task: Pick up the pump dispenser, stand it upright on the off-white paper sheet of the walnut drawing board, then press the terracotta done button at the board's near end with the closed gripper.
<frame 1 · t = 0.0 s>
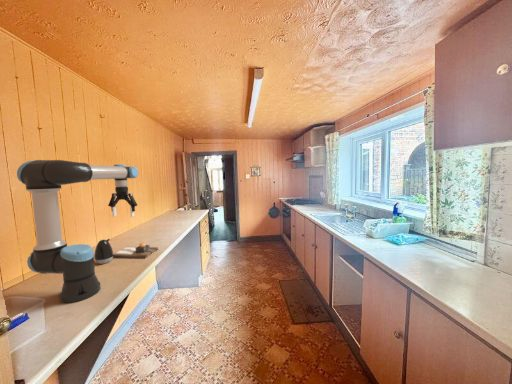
hand: (123, 216, 148), 28 cm above the countertop, fingers open, 13 cm apart
done button: (142, 245, 150), point 6 cm above the countertop, slide at 0.0 cm
pump dispenser: (104, 262, 137), on the countertop
drawing board: (136, 253, 151), on the countertop
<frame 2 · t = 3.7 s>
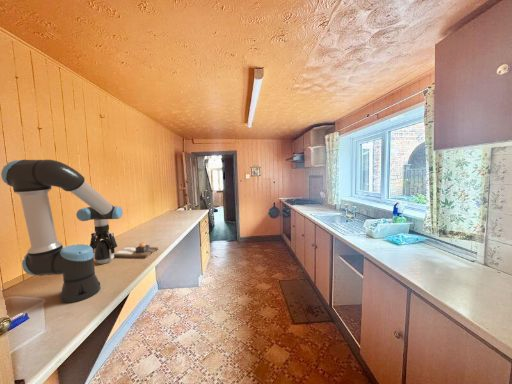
hand: (104, 257, 137), 3 cm above the countertop, fingers closed on pump dispenser, 10 cm apart
pump dispenser: (104, 262, 137), on the countertop, touching gripper
everything else where it was.
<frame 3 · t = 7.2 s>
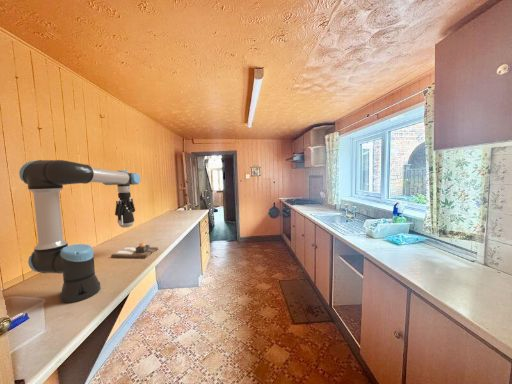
hand: (126, 222, 150), 23 cm above the countertop, fingers closed on pump dispenser, 10 cm apart
pump dispenser: (126, 226, 150), point 20 cm above the countertop, touching gripper
everything else where it was.
when the fingers open (6 cm above the countertop, at t = 11.0 s): pump dispenser stays where it is, resting on drawing board.
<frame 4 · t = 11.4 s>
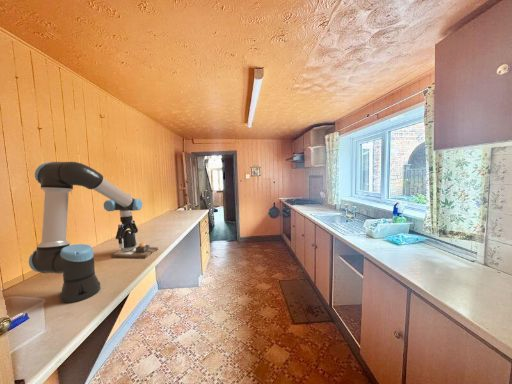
hand: (128, 244, 151), 7 cm above the countertop, fingers open, 13 cm apart
pump dispenser: (128, 250, 152), point 2 cm above the countertop, touching drawing board
everything else where it was.
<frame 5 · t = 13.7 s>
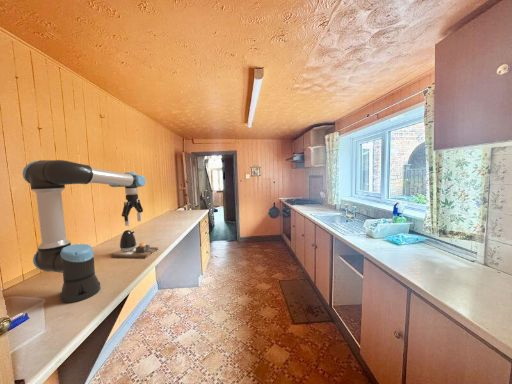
hand: (133, 223, 149), 22 cm above the countertop, fingers open, 13 cm apart
nothing on the countertop moved.
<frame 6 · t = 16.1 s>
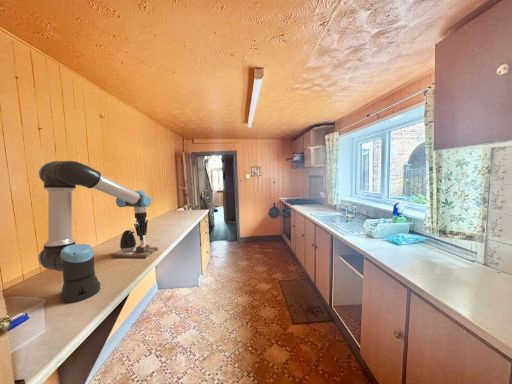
hand: (142, 244, 150), 7 cm above the countertop, fingers closed
done button: (142, 246, 150), point 5 cm above the countertop, slide at 0.7 cm, touching gripper
everything else where it was.
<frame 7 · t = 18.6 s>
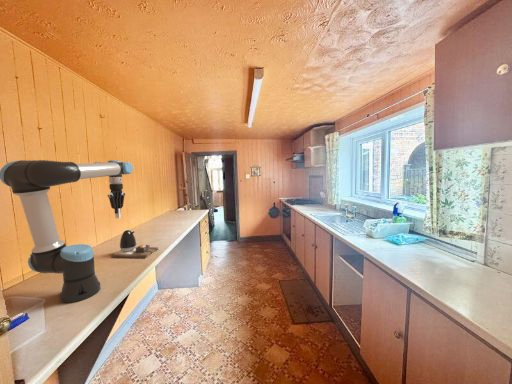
hand: (118, 217, 142), 28 cm above the countertop, fingers closed
done button: (142, 247, 150), point 5 cm above the countertop, slide at 1.3 cm
everything else where it was.
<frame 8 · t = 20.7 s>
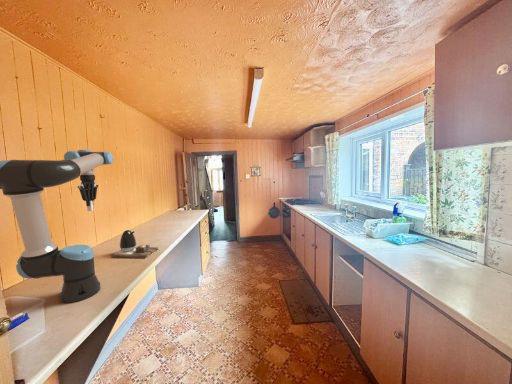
hand: (90, 210, 135), 34 cm above the countertop, fingers closed
nothing on the countertop moved.
at the end: pump dispenser inside the target area on the drawing board (0.0 cm from its centre), point 2.0 cm above the drawing board's base; pump dispenser tilted 0°; done button slide at 1.3 cm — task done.
